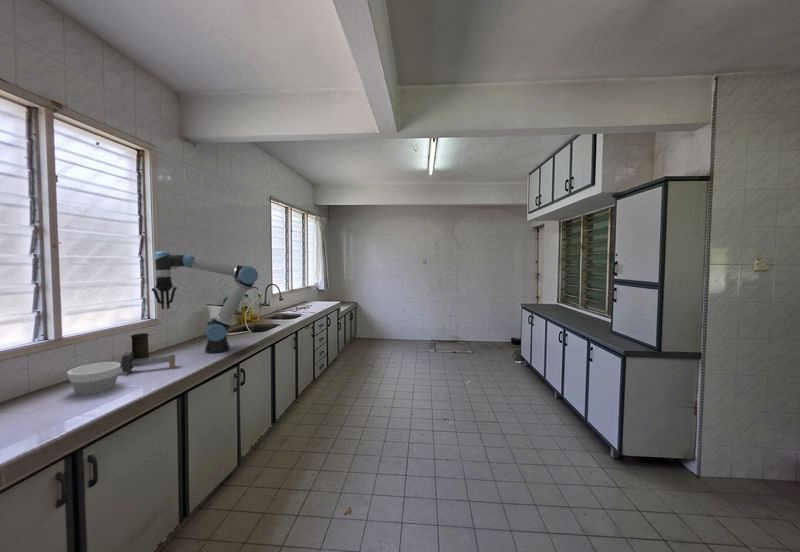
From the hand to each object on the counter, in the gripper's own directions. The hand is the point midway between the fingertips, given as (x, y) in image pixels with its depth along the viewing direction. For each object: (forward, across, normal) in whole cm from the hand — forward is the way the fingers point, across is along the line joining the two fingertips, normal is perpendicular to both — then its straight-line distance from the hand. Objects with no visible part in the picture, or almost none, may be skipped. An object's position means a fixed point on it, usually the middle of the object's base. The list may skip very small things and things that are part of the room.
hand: (166, 314), depth 202 cm
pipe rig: (+30, +11, +16) cm, 35 cm away
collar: (+28, +17, +15) cm, 36 cm away
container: (+30, +14, -1) cm, 33 cm away
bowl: (+30, +26, +37) cm, 54 cm away
